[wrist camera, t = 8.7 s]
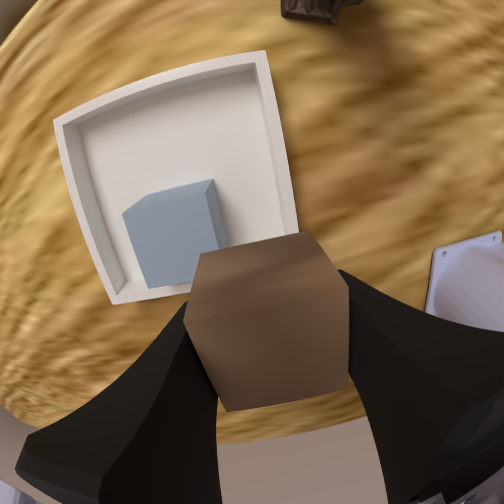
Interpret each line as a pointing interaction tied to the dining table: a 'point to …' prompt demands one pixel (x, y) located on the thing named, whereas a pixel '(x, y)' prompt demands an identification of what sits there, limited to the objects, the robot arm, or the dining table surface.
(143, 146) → the dish
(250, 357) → the walnut block
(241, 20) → the dining table surface
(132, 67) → the dining table surface
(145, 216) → the gray block
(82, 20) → the dining table surface
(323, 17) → the sculpture
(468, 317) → the robot arm
